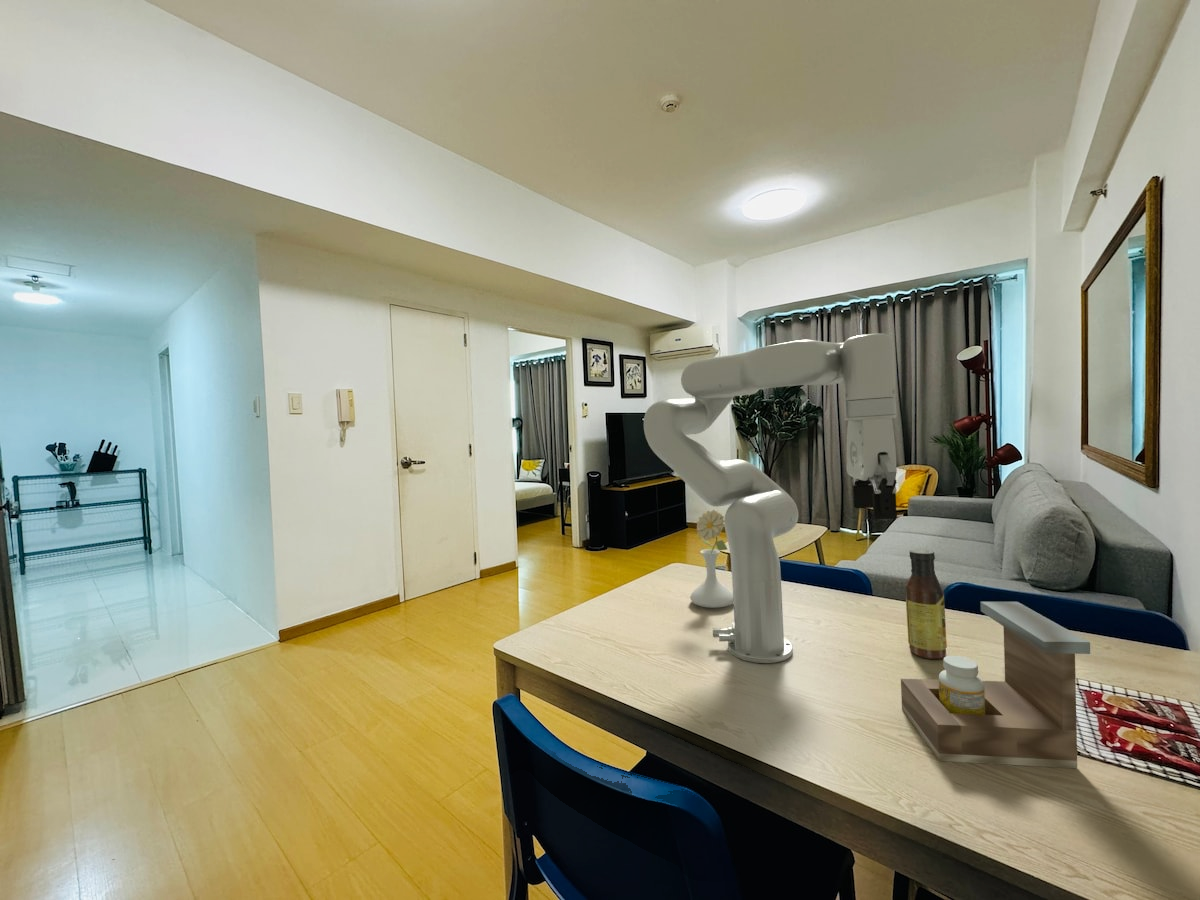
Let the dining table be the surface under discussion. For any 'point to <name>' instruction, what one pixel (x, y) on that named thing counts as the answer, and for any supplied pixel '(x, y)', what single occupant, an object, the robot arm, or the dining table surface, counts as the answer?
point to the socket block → (1010, 699)
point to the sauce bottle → (925, 607)
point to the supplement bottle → (961, 686)
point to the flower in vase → (711, 564)
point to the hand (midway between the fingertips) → (873, 512)
